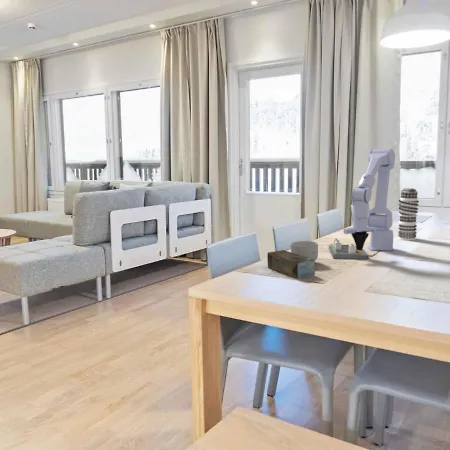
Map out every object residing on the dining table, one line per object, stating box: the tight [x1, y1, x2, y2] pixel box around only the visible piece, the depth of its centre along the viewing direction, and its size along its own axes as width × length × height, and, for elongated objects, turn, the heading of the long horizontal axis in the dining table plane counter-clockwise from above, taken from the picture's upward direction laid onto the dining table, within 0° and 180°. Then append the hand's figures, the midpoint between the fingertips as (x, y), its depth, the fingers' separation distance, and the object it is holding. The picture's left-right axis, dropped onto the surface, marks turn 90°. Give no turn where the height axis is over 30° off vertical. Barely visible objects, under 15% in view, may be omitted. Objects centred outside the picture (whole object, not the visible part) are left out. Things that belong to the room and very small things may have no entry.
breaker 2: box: [335, 241, 342, 250], centre depth 197 cm, size 2×4×3 cm, turn 173°
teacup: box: [289, 240, 319, 261], centre depth 182 cm, size 14×11×8 cm
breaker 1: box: [332, 237, 341, 247], centre depth 204 cm, size 2×4×3 cm, turn 173°
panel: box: [327, 243, 369, 260], centre depth 197 cm, size 14×20×2 cm
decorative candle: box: [397, 187, 420, 241], centre depth 228 cm, size 9×9×25 cm
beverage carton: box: [267, 249, 316, 279], centre depth 168 cm, size 8×19×7 cm, turn 28°
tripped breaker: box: [348, 243, 356, 253], centre depth 190 cm, size 2×4×3 cm, turn 173°
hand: (359, 250), depth 190 cm, fingers closed
